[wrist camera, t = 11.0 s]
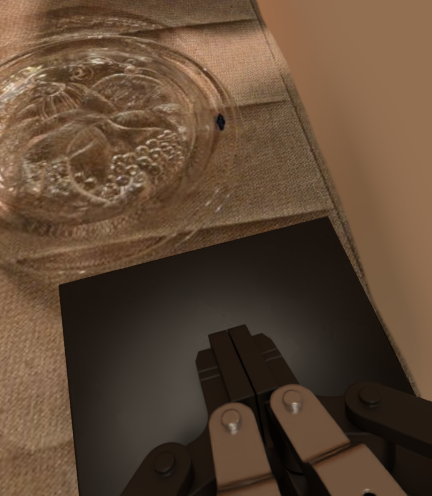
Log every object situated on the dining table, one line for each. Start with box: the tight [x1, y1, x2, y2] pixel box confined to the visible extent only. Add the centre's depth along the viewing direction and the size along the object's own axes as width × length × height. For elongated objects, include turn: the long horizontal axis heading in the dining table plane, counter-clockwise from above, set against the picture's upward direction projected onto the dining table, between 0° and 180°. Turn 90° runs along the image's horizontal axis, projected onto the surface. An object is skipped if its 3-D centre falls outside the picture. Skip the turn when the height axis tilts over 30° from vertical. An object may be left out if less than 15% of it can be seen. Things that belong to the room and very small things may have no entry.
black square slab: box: [59, 216, 430, 496], centre depth 13 cm, size 15×13×1 cm
